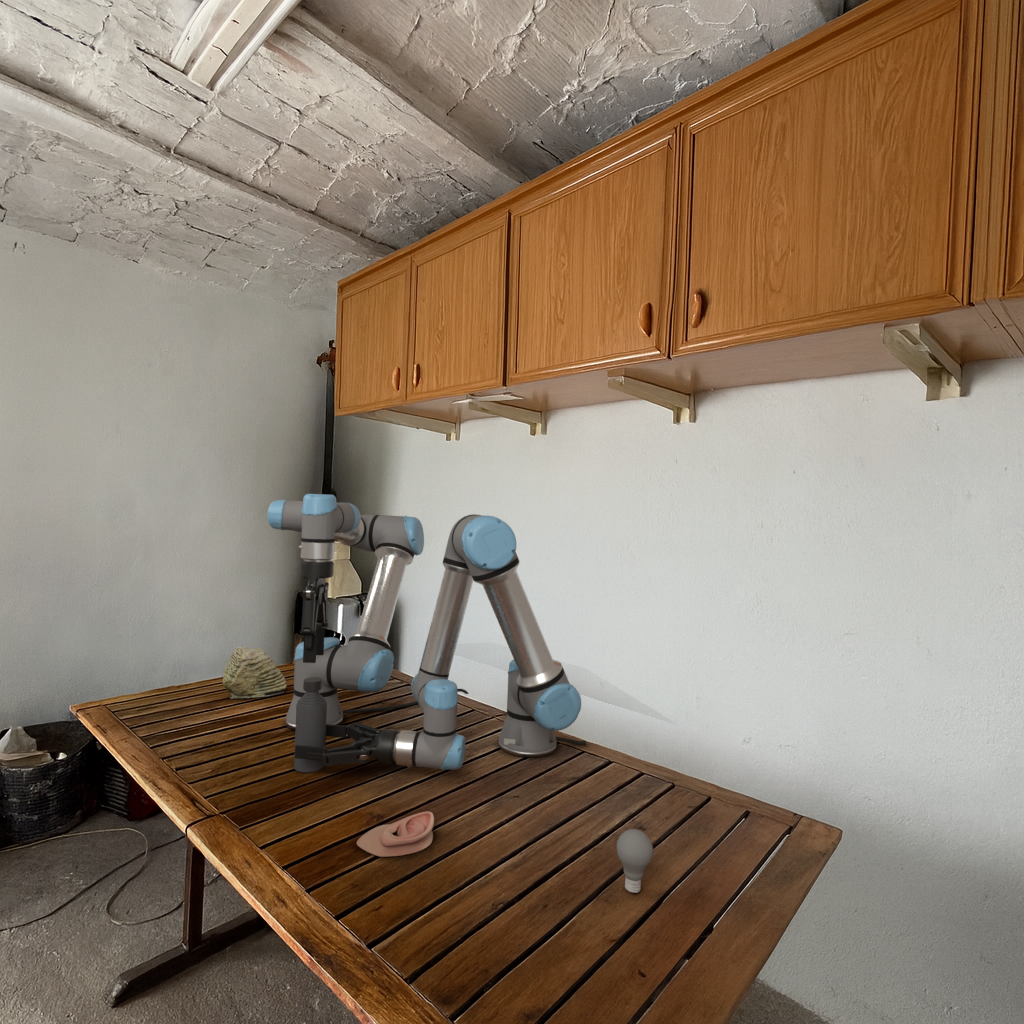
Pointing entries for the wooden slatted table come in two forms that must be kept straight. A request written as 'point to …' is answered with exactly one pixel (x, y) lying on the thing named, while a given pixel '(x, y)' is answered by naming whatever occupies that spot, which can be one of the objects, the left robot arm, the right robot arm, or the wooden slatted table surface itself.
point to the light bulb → (634, 857)
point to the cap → (312, 684)
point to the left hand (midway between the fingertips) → (313, 658)
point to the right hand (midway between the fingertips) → (308, 740)
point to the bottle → (310, 728)
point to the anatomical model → (399, 836)
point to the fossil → (252, 674)
